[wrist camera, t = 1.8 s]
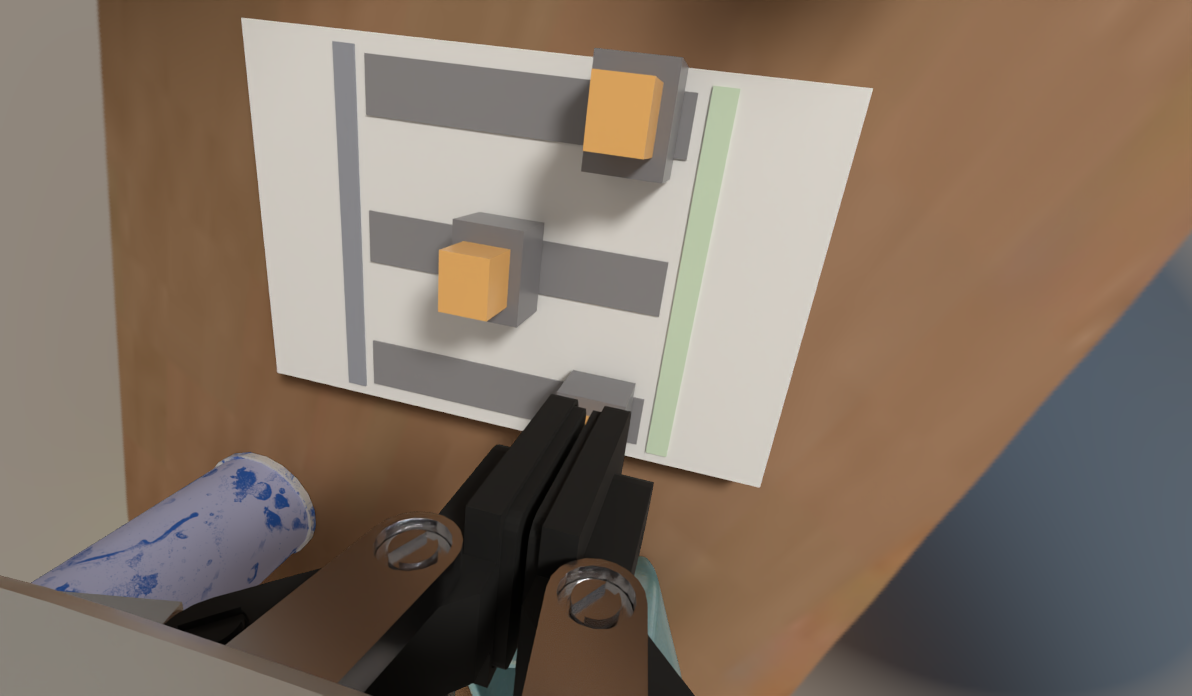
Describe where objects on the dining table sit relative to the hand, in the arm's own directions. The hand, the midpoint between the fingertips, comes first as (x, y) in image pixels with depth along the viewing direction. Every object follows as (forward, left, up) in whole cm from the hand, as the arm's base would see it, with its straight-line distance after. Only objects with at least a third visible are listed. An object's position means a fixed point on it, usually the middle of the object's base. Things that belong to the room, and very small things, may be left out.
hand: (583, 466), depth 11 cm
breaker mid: (0, -7, -13) cm, 15 cm away
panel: (0, -7, -16) cm, 17 cm away
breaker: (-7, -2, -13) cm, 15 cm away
